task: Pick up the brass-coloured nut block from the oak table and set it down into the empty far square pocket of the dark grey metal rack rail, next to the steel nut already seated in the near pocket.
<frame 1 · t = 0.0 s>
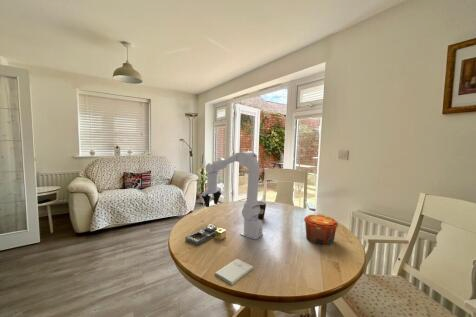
hand: (211, 205, 124), 10 cm above the table, fingers open, 7 cm apart
rail: (204, 236, 105), on the table
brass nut: (220, 237, 104), on the table
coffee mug: (256, 217, 134), on the table
external hard drive: (234, 273, 77), on the table
food container: (319, 240, 105), on the table
seated steel nut: (210, 233, 108), resting in rail
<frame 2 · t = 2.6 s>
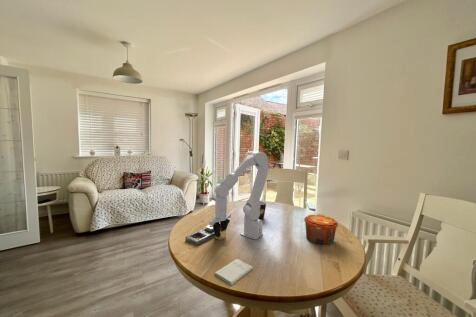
hand: (220, 235, 104), 1 cm above the table, fingers closed on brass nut, 4 cm apart
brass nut: (220, 237, 104), on the table, touching gripper
everything else where it was.
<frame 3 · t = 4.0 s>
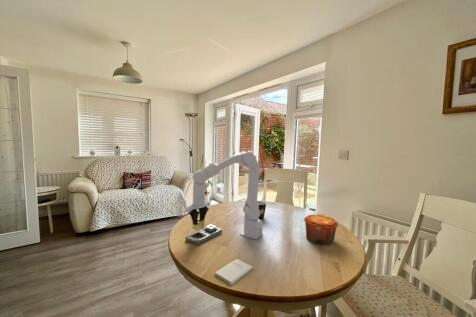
hand: (198, 223, 101), 8 cm above the table, fingers closed on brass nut, 4 cm apart
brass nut: (198, 228, 101), point 6 cm above the table, touching gripper
everything else where it was.
when the fingers open (3 cm above the table, at t = 5.4 s): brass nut stays where it is, resting in rail.
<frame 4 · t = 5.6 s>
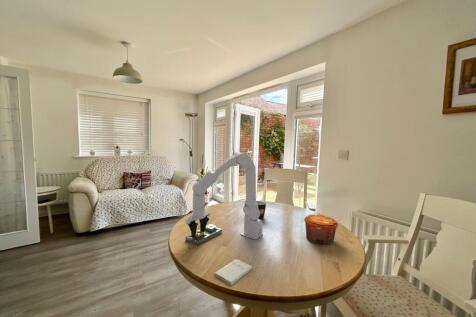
hand: (198, 233, 101), 3 cm above the table, fingers open, 5 cm apart
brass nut: (198, 240, 101), resting in rail
everything else where it was.
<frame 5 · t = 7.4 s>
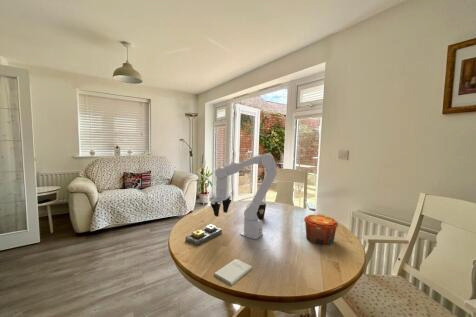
hand: (220, 214, 111), 9 cm above the table, fingers open, 7 cm apart
nothing on the table moved.
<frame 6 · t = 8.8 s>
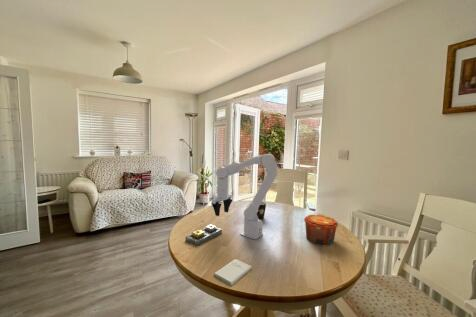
hand: (221, 213, 112), 9 cm above the table, fingers open, 7 cm apart
nothing on the table moved.
at the end: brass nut 0.0 cm from the target spot on the rail, point 0.0 cm above the rail's base; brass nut tilted 0°; the gripper is holding nothing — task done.
